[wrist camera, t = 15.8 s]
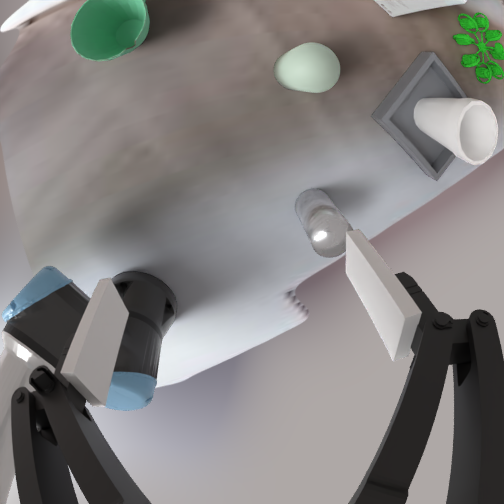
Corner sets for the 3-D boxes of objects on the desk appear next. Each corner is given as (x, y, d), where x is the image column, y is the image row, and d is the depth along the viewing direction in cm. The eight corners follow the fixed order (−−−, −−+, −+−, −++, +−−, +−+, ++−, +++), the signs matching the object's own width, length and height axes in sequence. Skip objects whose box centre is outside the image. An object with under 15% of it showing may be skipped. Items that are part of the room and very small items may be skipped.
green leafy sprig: (444, 1, 28) (468, -3, 22) (495, 25, 29) (518, 26, 23) (449, 74, 36) (475, 77, 31) (498, 89, 37) (521, 95, 31)
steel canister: (314, 227, 51) (334, 264, 42) (287, 210, 49) (302, 244, 40) (336, 201, 49) (361, 233, 39) (310, 181, 46) (331, 210, 37)
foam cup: (433, 79, 36) (486, 89, 25) (454, 123, 40) (503, 143, 30) (396, 106, 39) (446, 121, 28) (420, 150, 43) (468, 177, 32)
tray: (426, 174, 47) (436, 181, 44) (370, 116, 41) (380, 119, 38) (469, 115, 40) (481, 119, 37) (421, 51, 34) (433, 51, 31)
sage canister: (297, 98, 39) (318, 103, 30) (265, 73, 37) (276, 69, 27) (322, 69, 37) (350, 67, 27) (290, 44, 34) (309, 32, 25)
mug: (153, 67, 35) (133, 64, 26) (94, 61, 33) (62, 60, 24) (182, -20, 27) (171, -44, 19) (120, -23, 25) (96, -43, 17)
